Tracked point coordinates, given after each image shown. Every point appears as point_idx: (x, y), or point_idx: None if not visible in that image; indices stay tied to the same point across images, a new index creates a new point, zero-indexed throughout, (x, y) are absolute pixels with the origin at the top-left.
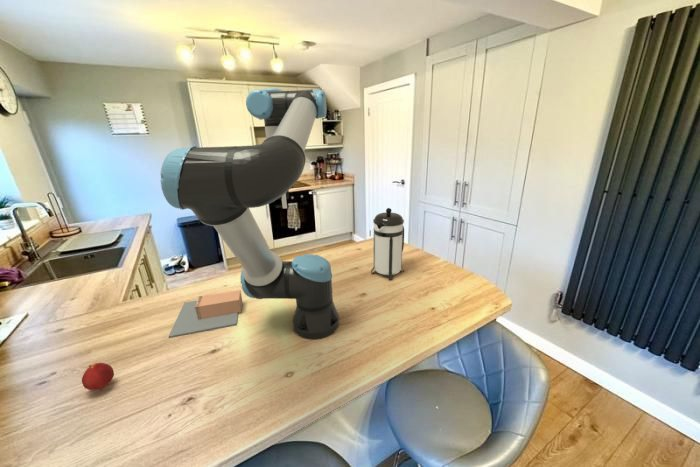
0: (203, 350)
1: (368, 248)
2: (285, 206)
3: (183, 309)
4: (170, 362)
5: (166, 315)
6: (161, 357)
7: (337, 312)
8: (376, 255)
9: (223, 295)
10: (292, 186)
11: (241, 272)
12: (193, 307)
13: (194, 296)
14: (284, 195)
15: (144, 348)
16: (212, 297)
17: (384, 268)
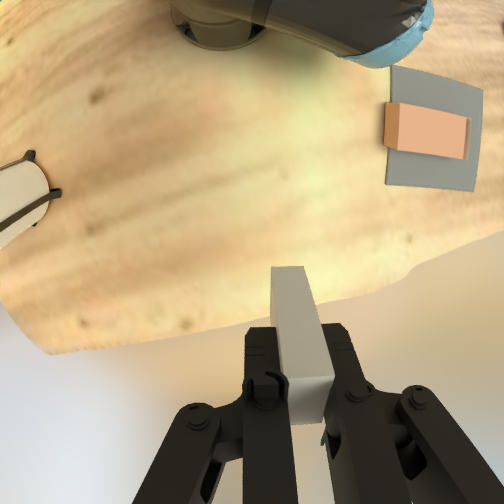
0: (431, 25)
1: (64, 318)
2: (284, 274)
3: (474, 166)
4: (465, 27)
5: (491, 163)
6: (477, 46)
7: (171, 2)
8: (21, 194)
9: (429, 140)
10: (186, 414)
11: (431, 1)
12: (462, 165)
13: (458, 214)
14: (294, 337)
15: (500, 83)
16: (447, 142)
17: (26, 166)
